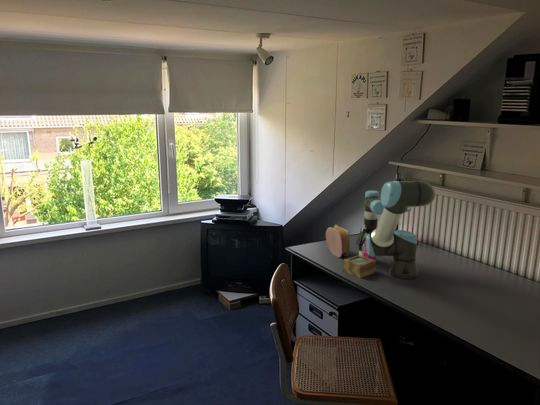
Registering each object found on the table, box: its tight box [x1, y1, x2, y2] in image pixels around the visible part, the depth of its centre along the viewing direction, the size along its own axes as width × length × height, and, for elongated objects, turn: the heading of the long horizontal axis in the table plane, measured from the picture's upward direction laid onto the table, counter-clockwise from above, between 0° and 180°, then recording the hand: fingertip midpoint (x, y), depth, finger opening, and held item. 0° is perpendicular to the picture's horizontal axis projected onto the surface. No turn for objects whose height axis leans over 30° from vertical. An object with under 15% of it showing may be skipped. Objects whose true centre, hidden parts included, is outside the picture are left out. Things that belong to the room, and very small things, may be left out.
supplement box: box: [363, 241, 377, 262], centre depth 254 cm, size 6×6×12 cm
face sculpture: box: [325, 224, 351, 259], centre depth 266 cm, size 20×7×17 cm, turn 25°
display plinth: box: [343, 254, 377, 279], centre depth 239 cm, size 12×12×7 cm
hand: (369, 253), depth 255 cm, fingers open, 13 cm apart
